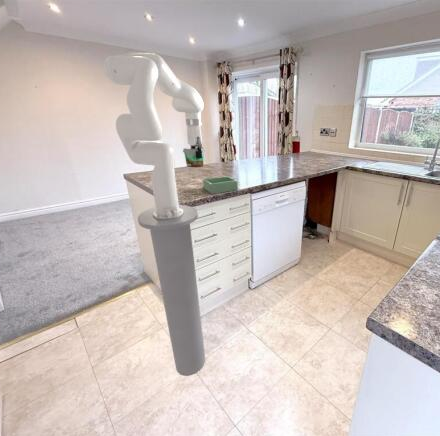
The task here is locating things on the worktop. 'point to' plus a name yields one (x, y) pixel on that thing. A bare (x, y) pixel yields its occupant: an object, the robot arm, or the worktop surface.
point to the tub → (220, 184)
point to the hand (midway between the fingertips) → (196, 157)
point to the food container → (193, 158)
